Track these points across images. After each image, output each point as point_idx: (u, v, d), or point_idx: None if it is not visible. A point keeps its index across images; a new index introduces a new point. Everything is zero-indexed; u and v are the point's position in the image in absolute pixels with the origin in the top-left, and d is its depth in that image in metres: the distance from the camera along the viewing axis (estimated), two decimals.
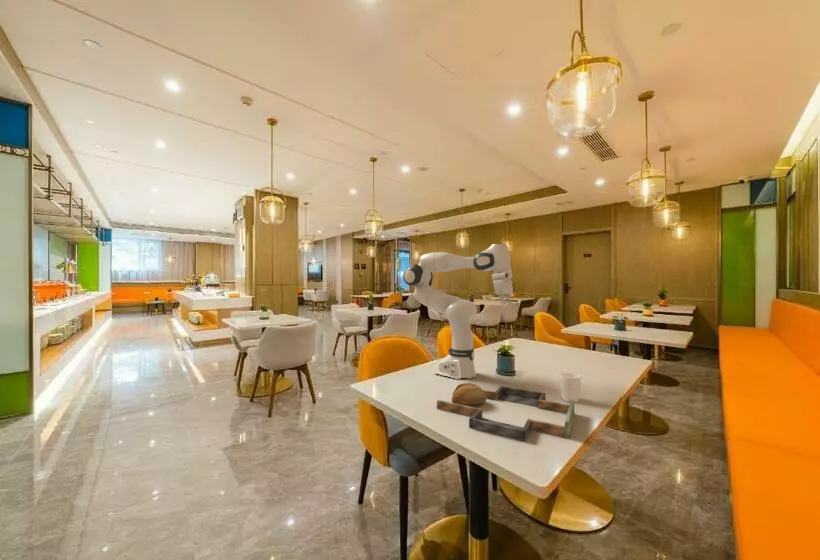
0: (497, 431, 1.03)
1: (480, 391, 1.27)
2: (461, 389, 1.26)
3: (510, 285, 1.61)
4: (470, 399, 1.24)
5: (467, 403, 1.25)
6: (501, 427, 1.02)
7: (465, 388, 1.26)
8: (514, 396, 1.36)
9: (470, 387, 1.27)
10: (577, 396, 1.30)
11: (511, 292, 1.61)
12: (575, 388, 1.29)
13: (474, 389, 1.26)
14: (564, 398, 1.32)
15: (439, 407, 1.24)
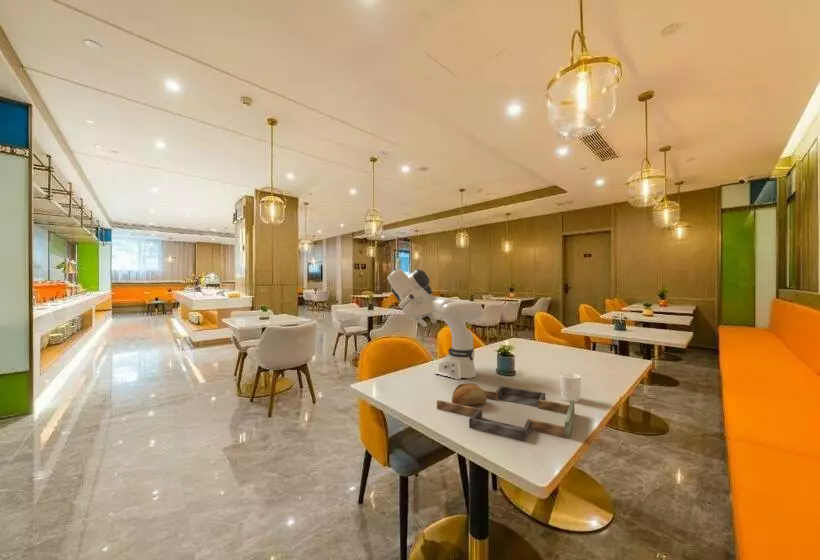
0: (497, 431, 1.03)
1: (480, 391, 1.27)
2: (462, 389, 1.26)
3: (427, 305, 1.45)
4: (470, 399, 1.24)
5: (467, 403, 1.25)
6: (501, 427, 1.02)
7: (465, 388, 1.26)
8: (514, 396, 1.36)
9: (470, 387, 1.27)
10: (577, 396, 1.30)
11: (432, 311, 1.45)
12: (575, 388, 1.29)
13: (474, 389, 1.26)
14: (564, 398, 1.32)
15: (439, 407, 1.24)
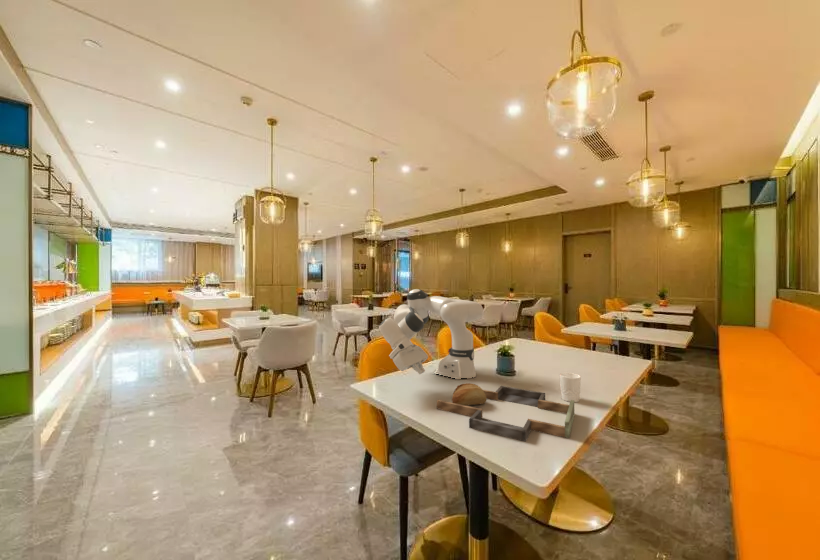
0: (497, 431, 1.03)
1: (480, 391, 1.27)
2: (462, 389, 1.26)
3: (419, 352, 1.46)
4: (470, 399, 1.24)
5: (467, 403, 1.25)
6: (501, 427, 1.02)
7: (465, 388, 1.26)
8: (514, 396, 1.36)
9: (470, 387, 1.27)
10: (577, 396, 1.30)
11: (424, 358, 1.45)
12: (575, 388, 1.29)
13: (474, 389, 1.26)
14: (564, 398, 1.32)
15: (439, 407, 1.24)
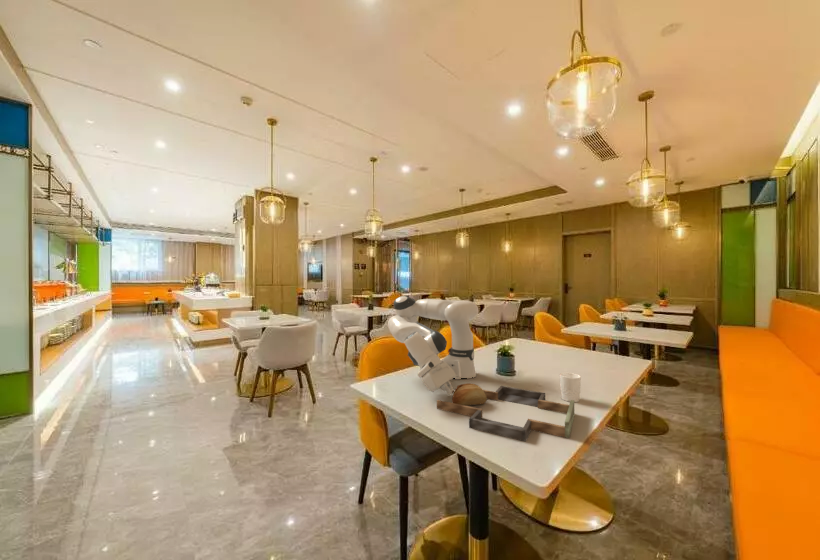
0: (497, 431, 1.03)
1: (480, 391, 1.27)
2: (462, 389, 1.26)
3: (447, 370, 1.37)
4: (470, 399, 1.24)
5: (467, 403, 1.24)
6: (501, 427, 1.02)
7: (465, 388, 1.26)
8: (514, 396, 1.36)
9: (470, 387, 1.27)
10: (577, 396, 1.30)
11: (453, 376, 1.36)
12: (575, 388, 1.29)
13: (474, 389, 1.26)
14: (564, 398, 1.32)
15: (439, 407, 1.24)
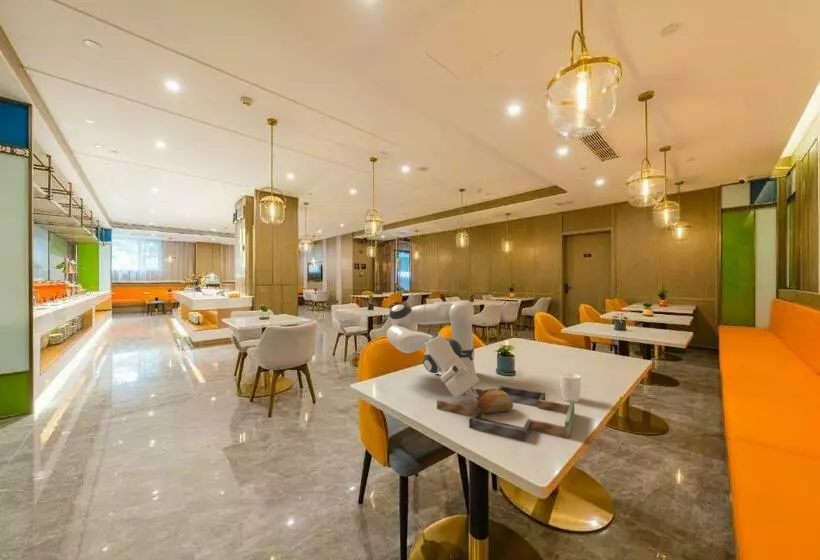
0: (497, 431, 1.03)
1: (507, 397, 1.20)
2: (488, 395, 1.19)
3: (470, 374, 1.30)
4: (497, 406, 1.17)
5: (494, 410, 1.17)
6: (501, 427, 1.02)
7: (491, 394, 1.19)
8: (514, 396, 1.36)
9: (497, 393, 1.20)
10: (577, 396, 1.30)
11: (476, 382, 1.29)
12: (575, 388, 1.29)
13: (501, 395, 1.19)
14: (564, 398, 1.32)
15: (439, 407, 1.24)
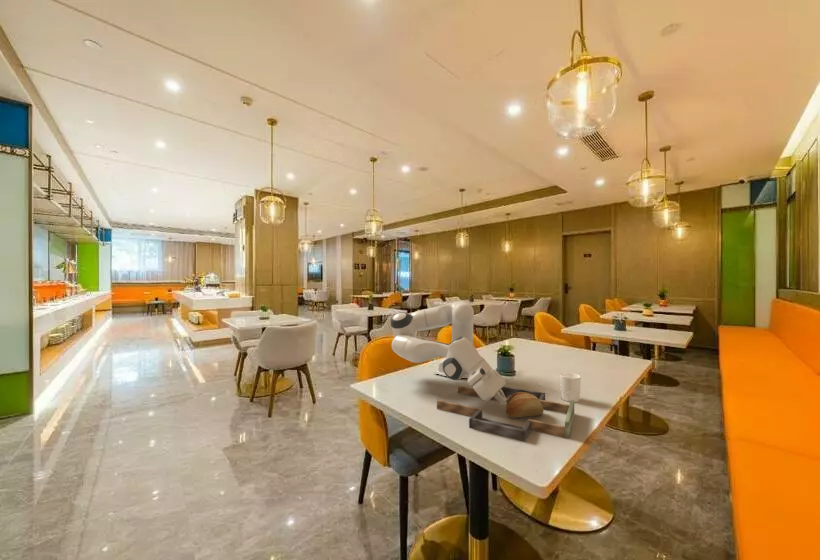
0: (497, 431, 1.03)
1: (538, 401, 1.15)
2: (517, 399, 1.15)
3: (497, 377, 1.26)
4: (527, 410, 1.12)
5: (524, 415, 1.13)
6: (501, 427, 1.02)
7: (521, 398, 1.15)
8: None
9: (526, 397, 1.15)
10: (577, 396, 1.30)
11: (504, 384, 1.25)
12: (575, 388, 1.29)
13: (531, 399, 1.15)
14: (564, 398, 1.32)
15: (439, 407, 1.24)
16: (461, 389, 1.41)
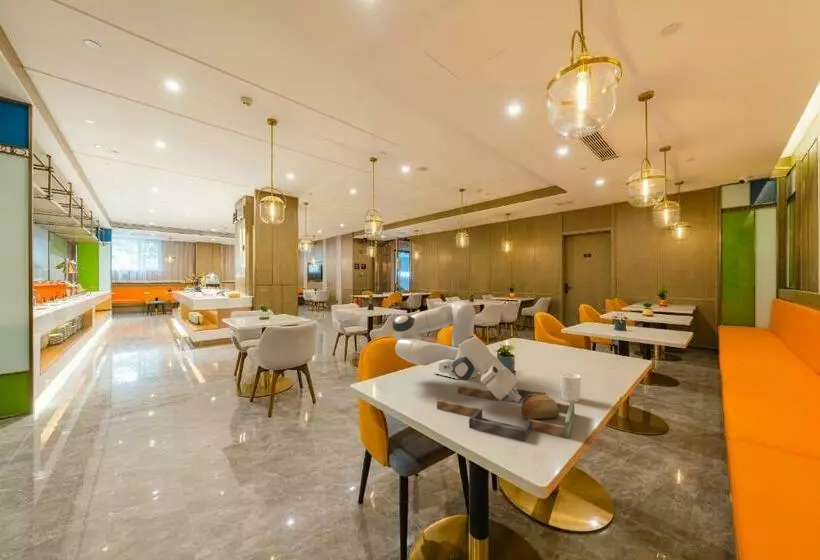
0: (497, 431, 1.03)
1: (554, 403, 1.14)
2: (533, 401, 1.14)
3: (509, 375, 1.26)
4: (543, 412, 1.11)
5: (540, 416, 1.12)
6: (501, 427, 1.02)
7: (537, 399, 1.14)
8: None
9: (542, 398, 1.14)
10: (577, 396, 1.30)
11: (516, 382, 1.25)
12: (575, 388, 1.29)
13: (547, 401, 1.13)
14: (564, 398, 1.32)
15: (439, 407, 1.24)
16: (461, 389, 1.41)
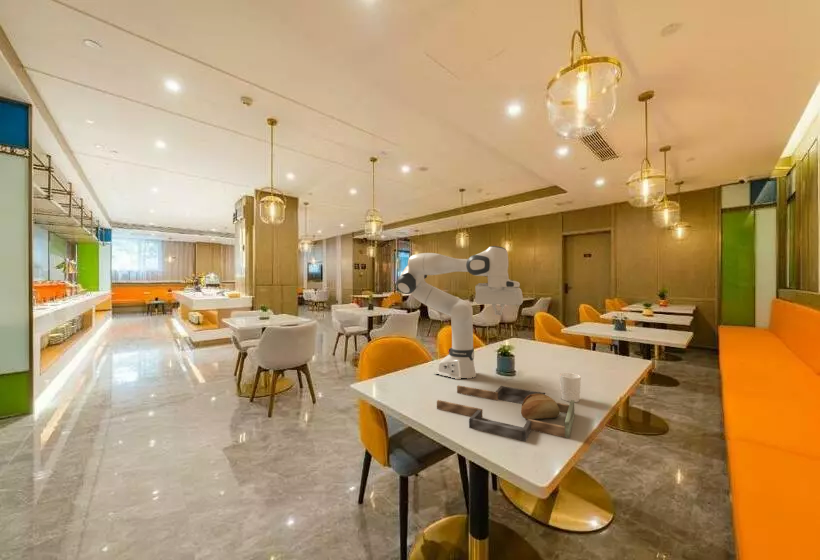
0: (497, 431, 1.03)
1: (554, 403, 1.14)
2: (533, 401, 1.14)
3: None
4: (543, 412, 1.11)
5: (540, 416, 1.12)
6: (501, 427, 1.02)
7: (537, 399, 1.14)
8: (514, 396, 1.36)
9: (542, 398, 1.14)
10: (577, 396, 1.30)
11: None
12: (575, 388, 1.29)
13: (547, 401, 1.13)
14: (564, 398, 1.32)
15: (439, 407, 1.24)
16: (461, 389, 1.41)
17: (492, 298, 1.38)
